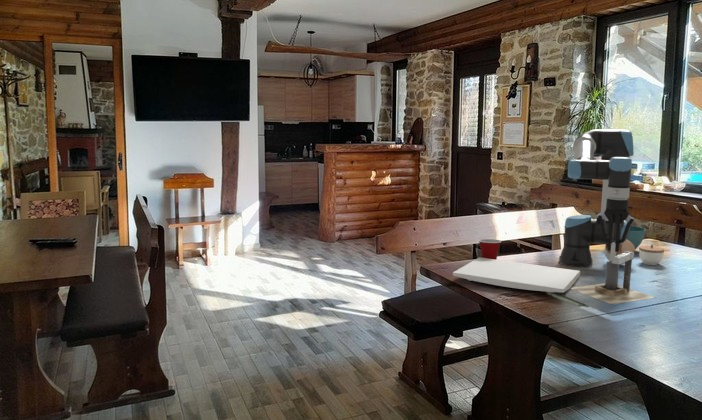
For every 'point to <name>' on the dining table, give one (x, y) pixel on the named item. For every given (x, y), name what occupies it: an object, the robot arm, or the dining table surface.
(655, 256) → the lidded jar
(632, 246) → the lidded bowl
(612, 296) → the socket plate
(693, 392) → the dining table surface
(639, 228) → the plant pot
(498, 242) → the plastic cup
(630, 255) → the latch
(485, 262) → the board
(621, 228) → the robot arm
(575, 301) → the pad
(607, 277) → the peg
